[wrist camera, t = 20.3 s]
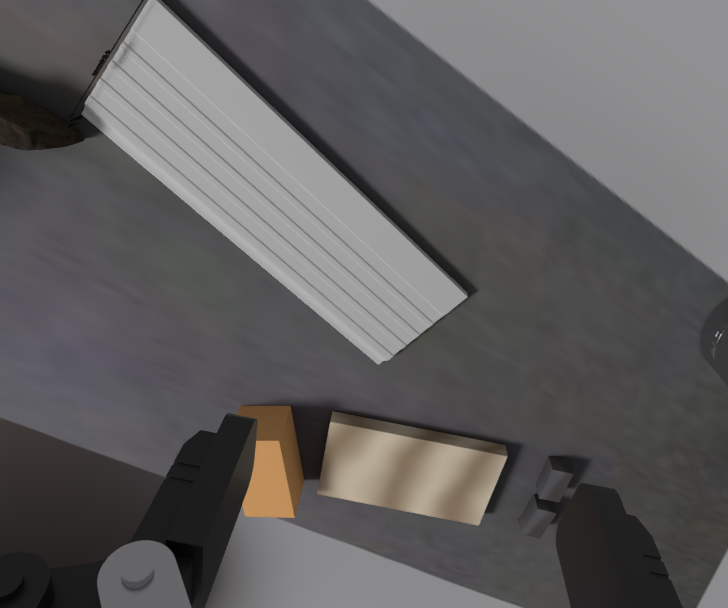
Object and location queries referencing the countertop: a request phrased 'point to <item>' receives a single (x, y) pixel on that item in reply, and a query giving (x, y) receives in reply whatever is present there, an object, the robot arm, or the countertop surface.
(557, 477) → the charcoal stick
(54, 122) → the brown pointed piece
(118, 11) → the countertop surface
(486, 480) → the plywood board
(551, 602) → the countertop surface
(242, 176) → the baseboard
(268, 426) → the block
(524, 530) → the charcoal stick
